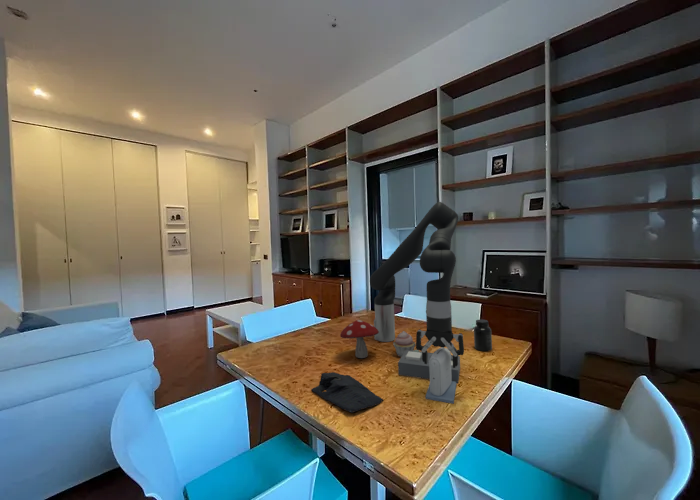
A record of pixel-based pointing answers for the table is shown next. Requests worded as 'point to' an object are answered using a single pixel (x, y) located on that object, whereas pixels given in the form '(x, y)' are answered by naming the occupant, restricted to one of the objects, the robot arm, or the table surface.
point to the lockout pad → (446, 397)
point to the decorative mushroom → (359, 335)
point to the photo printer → (440, 371)
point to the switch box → (422, 367)
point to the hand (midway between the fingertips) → (439, 364)
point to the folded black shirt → (346, 392)
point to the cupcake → (403, 343)
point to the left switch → (414, 356)
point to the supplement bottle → (482, 336)
